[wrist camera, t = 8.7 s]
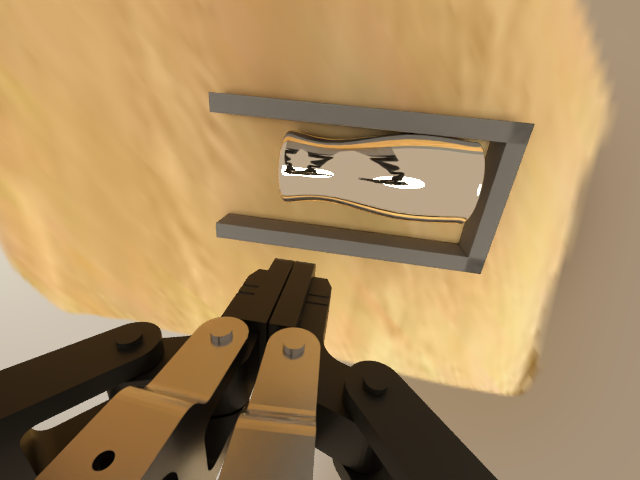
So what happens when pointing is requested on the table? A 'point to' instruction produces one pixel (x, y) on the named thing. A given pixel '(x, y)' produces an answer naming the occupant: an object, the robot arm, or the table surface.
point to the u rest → (458, 257)
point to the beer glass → (385, 174)
